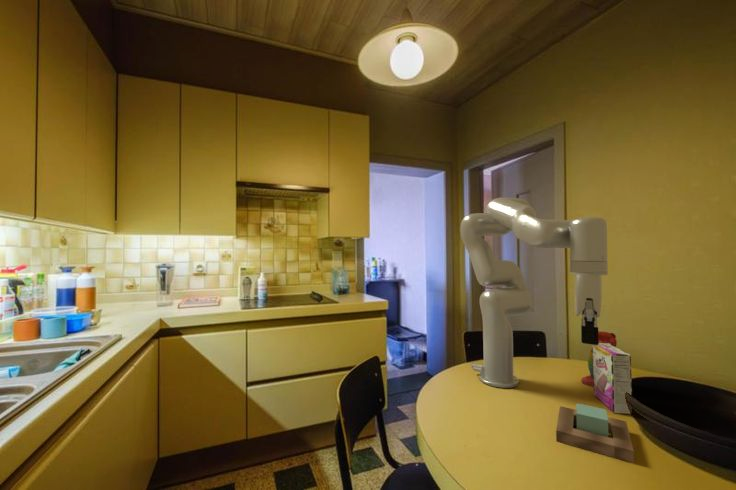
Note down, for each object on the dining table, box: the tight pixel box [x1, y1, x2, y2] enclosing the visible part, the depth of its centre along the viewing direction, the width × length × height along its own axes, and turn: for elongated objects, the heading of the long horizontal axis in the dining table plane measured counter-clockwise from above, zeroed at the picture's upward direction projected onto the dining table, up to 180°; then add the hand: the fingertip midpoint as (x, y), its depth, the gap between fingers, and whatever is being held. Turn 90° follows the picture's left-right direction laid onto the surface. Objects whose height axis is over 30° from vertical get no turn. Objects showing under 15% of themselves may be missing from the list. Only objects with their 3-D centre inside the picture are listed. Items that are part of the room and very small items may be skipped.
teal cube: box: [576, 403, 609, 437], centre depth 76 cm, size 6×6×6 cm
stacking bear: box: [580, 330, 618, 387], centre depth 104 cm, size 11×10×18 cm
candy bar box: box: [592, 343, 633, 416], centre depth 91 cm, size 11×5×16 cm, turn 168°
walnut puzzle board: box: [555, 405, 635, 464], centre depth 76 cm, size 14×14×2 cm
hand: (589, 338), depth 77 cm, fingers open, 9 cm apart
